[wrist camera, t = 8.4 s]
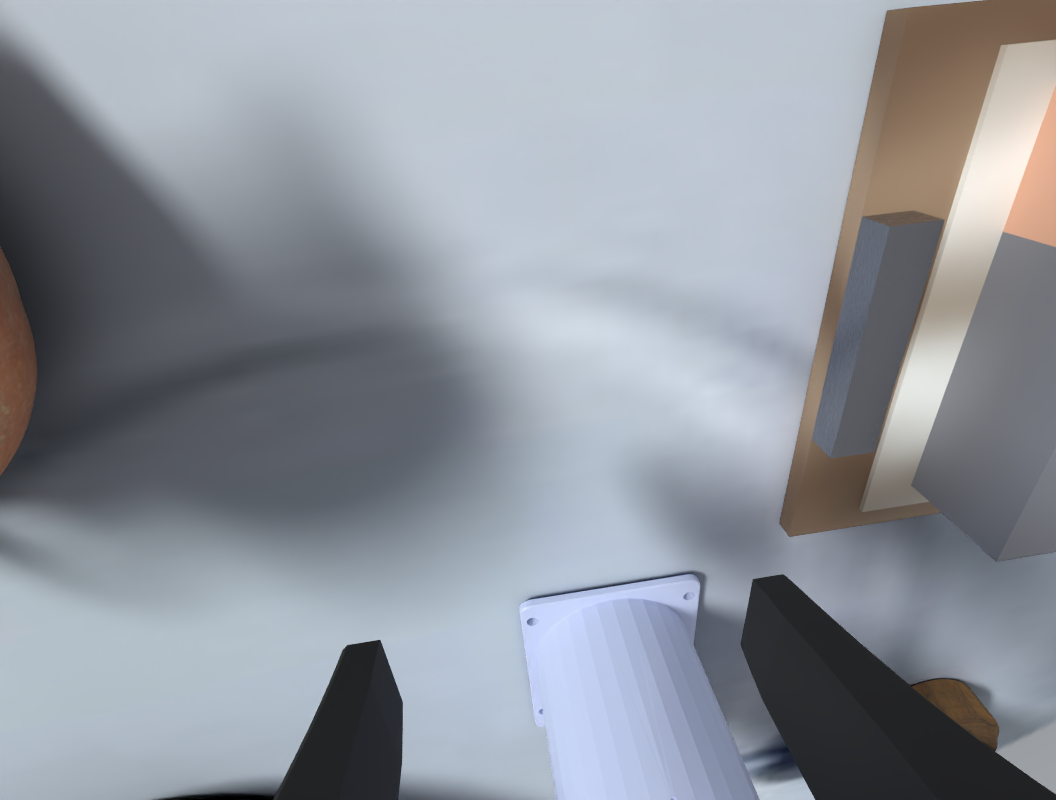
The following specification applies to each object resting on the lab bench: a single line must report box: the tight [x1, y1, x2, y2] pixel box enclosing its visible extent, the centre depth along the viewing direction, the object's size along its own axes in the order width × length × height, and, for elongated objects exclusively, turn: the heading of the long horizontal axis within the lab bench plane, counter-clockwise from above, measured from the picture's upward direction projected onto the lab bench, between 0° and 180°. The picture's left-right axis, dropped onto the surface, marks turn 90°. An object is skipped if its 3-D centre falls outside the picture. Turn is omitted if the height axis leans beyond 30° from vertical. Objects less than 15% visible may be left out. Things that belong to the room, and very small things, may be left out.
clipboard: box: [780, 0, 1056, 537], centre depth 18 cm, size 18×13×2 cm
